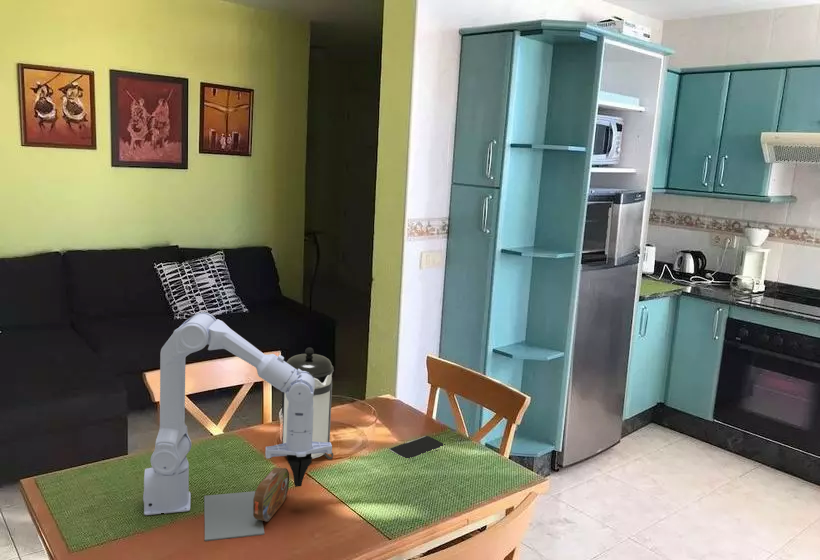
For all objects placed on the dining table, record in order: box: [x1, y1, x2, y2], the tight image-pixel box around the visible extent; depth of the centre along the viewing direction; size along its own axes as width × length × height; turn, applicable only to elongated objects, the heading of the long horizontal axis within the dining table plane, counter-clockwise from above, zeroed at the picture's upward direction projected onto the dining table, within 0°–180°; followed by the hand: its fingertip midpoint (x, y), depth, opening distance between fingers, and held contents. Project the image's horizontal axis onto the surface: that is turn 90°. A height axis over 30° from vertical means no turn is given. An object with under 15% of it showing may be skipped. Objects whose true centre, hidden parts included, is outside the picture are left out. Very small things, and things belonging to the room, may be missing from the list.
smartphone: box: [388, 435, 446, 459], centre depth 183 cm, size 8×1×15 cm
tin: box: [253, 467, 290, 522], centre depth 146 cm, size 15×3×8 cm, turn 168°
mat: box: [203, 490, 265, 542], centre depth 144 cm, size 12×18×1 cm, turn 17°
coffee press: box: [281, 347, 335, 461], centre depth 173 cm, size 17×16×30 cm
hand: (297, 484), depth 147 cm, fingers closed
